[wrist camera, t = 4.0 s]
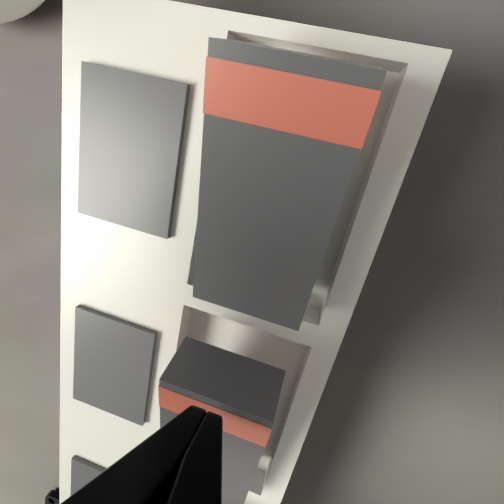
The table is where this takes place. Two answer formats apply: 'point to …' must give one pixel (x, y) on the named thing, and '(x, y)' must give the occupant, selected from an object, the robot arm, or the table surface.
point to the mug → (17, 9)
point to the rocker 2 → (274, 172)
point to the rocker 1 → (225, 405)
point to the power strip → (195, 222)
